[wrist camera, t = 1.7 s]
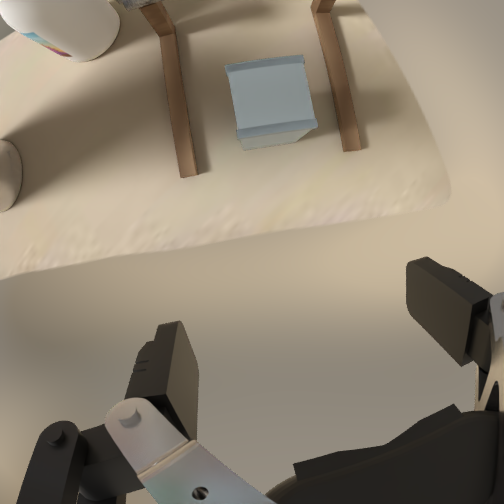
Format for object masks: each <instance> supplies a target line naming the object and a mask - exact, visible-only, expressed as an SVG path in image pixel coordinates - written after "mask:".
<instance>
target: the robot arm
mask: <svg viewBox="0 0 504 504" xmlns="http://www.w3.org/2000/svg"><path fill="white" fill-rule="evenodd" d="M21 182H22V164H21V159H20V156H19V153H18V151H17V150H16V148H15V146H13V145H12V144H11V143H10V142H8V141H4V140H0V213H1V212H4V211H6V210H7V209H9V208H10V207H11V206H12V205H13V203H14V202H15V200H16V198H17V196H18V194H19V191H20V187H21ZM406 304H407V308H408V311H409V313H410V315H411V316H412V317H413V318H414V319H415V320H416V321H417V322H418V323H419V324H420V325H421V326H422V327H423V328H424V329H425V330H426V331H427V332H428V333H429V334H430V335H431V336H432V337H433V338H434V339H435V340H436V341H437V342H438V343H439V344H440V345H441V346H442V347H443V348H444V350H446V351H447V353H448V354H449V355H451V357H452V358H453V359H454V360H455V361H456V362H457V363H458V364H459V365H460V366H461V367H462V366H464V365H466V364H468V363H470V362H472V361H473V360H474V361H475V362H476V363H477V367H476V373H475V374H476V375H475V404H474V405H475V406H474V411H469V412H463V413H461V412H460V411H459V410H458V408H457V407H456V406H455V405H454V404H452V405H450V406H448V407H446V408H444V409H442V410H440V411H438V412H436V413H434V414H432V415H430V416H428V417H426V418H424V419H422V420H420V421H418V422H417V423H416V424H414V425H413V426H412V427H410V428H409V429H407V431H405V432H403V433H402V434H401V435H399V436H398V437H396V438H395V439H393V440H392V441H390V442H389V443H387V444H385V445H382V446H376V447H370V448H363V449H356V450H347V451H338V452H335V453H331V454H328V455H324V456H321V457H317V458H314V459H310V460H306V461H302V462H298V463H294V464H293V466H294V470H295V474H296V475H295V476H293V477H291V478H288V479H287V480H285V481H283V482H281V483H280V484H278V485H276V486H275V487H274V488H272V489H271V490H270V491H269V492H267V493H266V494H265V495H264V494H262V493H261V492H259V491H258V490H256V489H255V488H254V487H253V486H251V485H250V484H249V483H247V482H246V481H245V480H243V479H242V478H241V477H239V476H238V475H237V474H236V473H234V472H233V471H232V470H231V469H229V468H228V467H227V466H226V465H224V464H223V463H222V462H221V461H220V460H218V459H217V458H216V457H215V456H214V455H213V454H211V453H210V452H209V451H208V450H207V449H205V448H204V447H203V446H202V445H201V444H200V443H199V442H197V412H198V411H197V410H198V384H199V370H198V364H197V360H196V357H195V355H194V352H193V350H192V347H191V344H190V342H189V339H188V336H187V334H186V331H185V328H184V326H183V324H182V322H181V321H175V322H170V323H165V324H161V325H159V326H158V328H157V332H156V335H155V339H154V341H149V342H147V343H146V344H145V345H144V346H143V347H142V349H141V350H140V351H139V353H138V356H137V359H136V364H135V365H134V368H133V373H132V375H131V378H130V382H129V385H128V388H127V392H126V395H125V399H124V400H123V401H121V402H119V403H117V404H116V405H115V406H113V407H112V408H111V409H110V410H109V412H108V413H107V415H106V418H105V424H102V425H100V426H97V427H94V428H91V429H87V430H84V431H81V432H80V431H79V429H78V428H77V426H76V425H75V424H74V423H72V422H70V421H59V422H55V423H53V424H51V425H50V426H48V427H47V428H46V429H45V430H44V431H43V432H42V433H41V434H40V436H39V439H38V441H37V443H36V446H35V449H34V452H33V455H32V457H31V460H30V463H29V466H28V468H27V472H26V474H25V478H24V480H23V484H22V486H21V490H20V493H19V496H18V500H17V503H16V504H76V502H77V504H126V493H130V492H133V491H136V490H140V489H143V488H146V489H147V490H148V492H149V493H150V494H151V495H152V497H153V498H154V499H155V500H156V502H157V503H158V504H504V292H502V293H497V294H495V295H494V296H493V295H492V294H491V293H489V292H487V291H486V290H484V289H483V288H482V287H480V286H479V285H477V284H476V283H474V282H473V281H470V280H469V279H468V278H466V277H465V276H462V274H460V273H459V272H457V271H455V270H454V269H451V268H447V267H444V266H442V265H440V264H438V263H437V262H435V261H434V260H432V259H430V258H429V257H423V258H420V259H417V260H413V261H410V262H408V264H407V266H406ZM78 492H79V494H78ZM77 497H78V500H77Z"/></svg>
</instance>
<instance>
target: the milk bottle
mask: <svg viewBox="0 0 504 504" xmlns="http://www.w3.org/2000/svg"><path fill="white" fill-rule="evenodd" d="M0 14H1V16H2V17H3V19H4V20H5V21H6V23H7V24H8V25H9V26H11V27H12V28H13V29H14V30H16V31H18V32H19V33H21V34H23V35H24V36H26V37H28V38H30V39H32V40H33V41H35V42H37V43H39V44H41V45H43V46H44V47H46V48H48V49H50V50H52V51H54V52H55V53H57V54H59V55H61V56H63V57H64V58H66V59H68V60H70V61H73V62H86V61H89V60H92V59H94V58H96V57H98V56H100V55H101V54H103V53H104V52H105V51H106V50H107V49H108V48H109V47H110V46H111V45H112V43H113V42H114V40H115V39H116V37H117V34H118V32H119V27H120V19H119V15H118V13H117V12H116V11H115V9H114V8H113V7H112V6H111V5H110V4H109V2H108V1H107V0H0Z"/></svg>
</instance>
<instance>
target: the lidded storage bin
mask: <svg viewBox="0 0 504 504" xmlns="http://www.w3.org/2000/svg"><path fill="white" fill-rule="evenodd" d="M304 63H305V62H304V57H303V55H295V56H285V57H276V58H268V59H260V60H253V61H246V62H240V63H234V64H228V65H225V70H226V75H227V76H228V78H229V83H230V89H231V94H232V100H233V106H234V111H235V117H236V122H237V128H238V130H236V131H237V137H238V140H240V141H241V144H242V147H243V150H244V151H245V150H251V149H257V148H263V147H269V146H276V145H283V144H290V143H295V142H296V141H298V140H299V139H300V138H301V137H303V136H304V135H305V134H307V133H308V132H309V131H310V130H312V129H316V128H318V124H317V118H315V116H314V111H313V106H312V101H311V96H310V91H309V86H308V82H307V77H306V73H305V68H304Z"/></svg>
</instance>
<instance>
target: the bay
mask: <svg viewBox="0 0 504 504" xmlns="http://www.w3.org/2000/svg"><path fill="white" fill-rule="evenodd" d="M335 1H336V0H313V2H312V5H311V10H312V14H313V17H314V21H315V24H316V28H317V32H318V35H319V39H320V43H321V47H322V51H323V55H324V59H325V63H326V67H327V71H328V75H329V80H330V84H331V89H332V94H333V98H334V103H335V108H336V113H337V118H338V123H339V129H340V134H341V140H342V146H343V151H344V152H347V151H357V150H361V145H360V139H359V133H358V128H357V123H356V117H355V112H354V107H353V102H352V98H351V93H350V89H349V84H348V80H347V75H346V71H345V67H344V63H343V59H342V55H341V51H340V48H339V44H338V40H337V36H336V33H335V29H334V26H333V23H332V19H331V16H330V11H331V9H332V7H333V5H334V3H335ZM139 9H140V10H141V12H142V13H143V14H144V16H145V17H146V19H147V20H148V21H149V23H150V24H151V26H152V27H153V29H154V30H155V31H156V33H157V34H158V36H159V37H160V45H161V53H162V61H163V69H164V76H165V83H166V90H167V97H168V104H169V111H170V117H171V124H172V130H173V136H174V142H175V148H176V154H177V160H178V165H179V171H180V177H181V178H185V177H190V176H195V175H198V171H197V166H196V160H195V155H194V149H193V143H192V137H191V131H190V125H189V119H188V113H187V107H186V100H185V94H184V87H183V81H182V74H181V67H180V61H179V54H178V46H177V39H176V32H175V26H174V24H173V22H172V21H171V19H170V17H169V15H168V13H167V11H166V10H165V8H164V6H163V4H162V2H161V1H159V2H156V3H152V4H149V5H146V6H142V7H139Z"/></svg>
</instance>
